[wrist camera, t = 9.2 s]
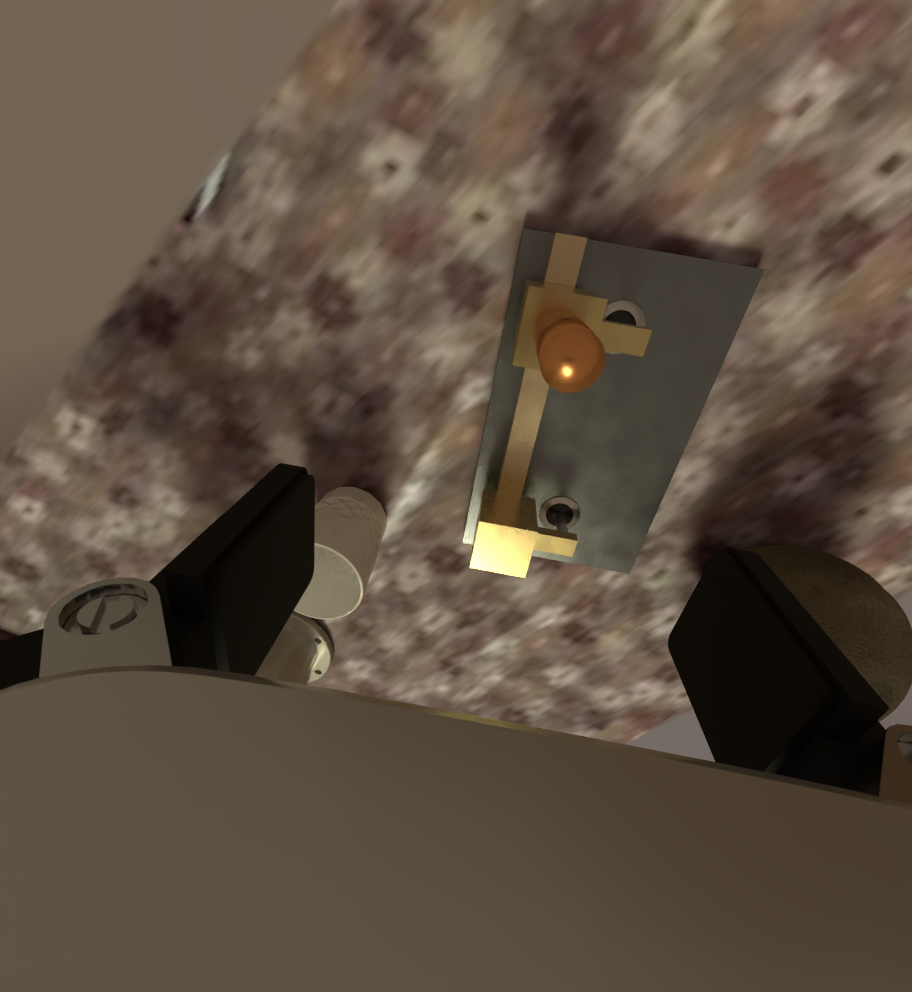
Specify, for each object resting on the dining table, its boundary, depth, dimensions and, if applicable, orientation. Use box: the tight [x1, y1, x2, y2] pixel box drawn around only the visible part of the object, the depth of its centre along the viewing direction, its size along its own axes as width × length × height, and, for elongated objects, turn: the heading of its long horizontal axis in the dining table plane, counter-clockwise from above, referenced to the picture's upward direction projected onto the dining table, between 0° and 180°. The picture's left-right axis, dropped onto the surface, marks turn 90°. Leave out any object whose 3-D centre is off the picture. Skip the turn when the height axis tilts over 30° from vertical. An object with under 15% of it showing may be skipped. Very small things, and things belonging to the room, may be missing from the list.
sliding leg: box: [512, 280, 652, 393], centre depth 25 cm, size 4×8×14 cm, turn 82°
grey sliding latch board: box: [463, 228, 765, 578], centre depth 33 cm, size 26×16×8 cm, turn 172°
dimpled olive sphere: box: [745, 544, 912, 721], centre depth 35 cm, size 14×14×15 cm
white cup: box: [294, 487, 386, 619], centre depth 39 cm, size 8×8×10 cm
